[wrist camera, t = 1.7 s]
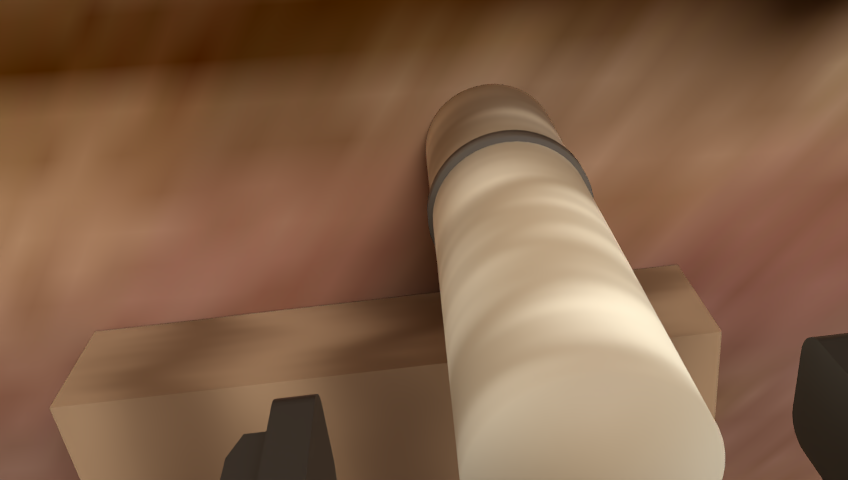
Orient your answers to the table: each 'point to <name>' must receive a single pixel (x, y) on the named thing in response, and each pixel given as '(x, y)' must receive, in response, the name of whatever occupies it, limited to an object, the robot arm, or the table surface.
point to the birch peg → (548, 313)
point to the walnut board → (304, 385)
